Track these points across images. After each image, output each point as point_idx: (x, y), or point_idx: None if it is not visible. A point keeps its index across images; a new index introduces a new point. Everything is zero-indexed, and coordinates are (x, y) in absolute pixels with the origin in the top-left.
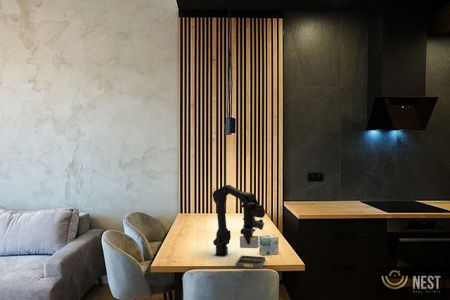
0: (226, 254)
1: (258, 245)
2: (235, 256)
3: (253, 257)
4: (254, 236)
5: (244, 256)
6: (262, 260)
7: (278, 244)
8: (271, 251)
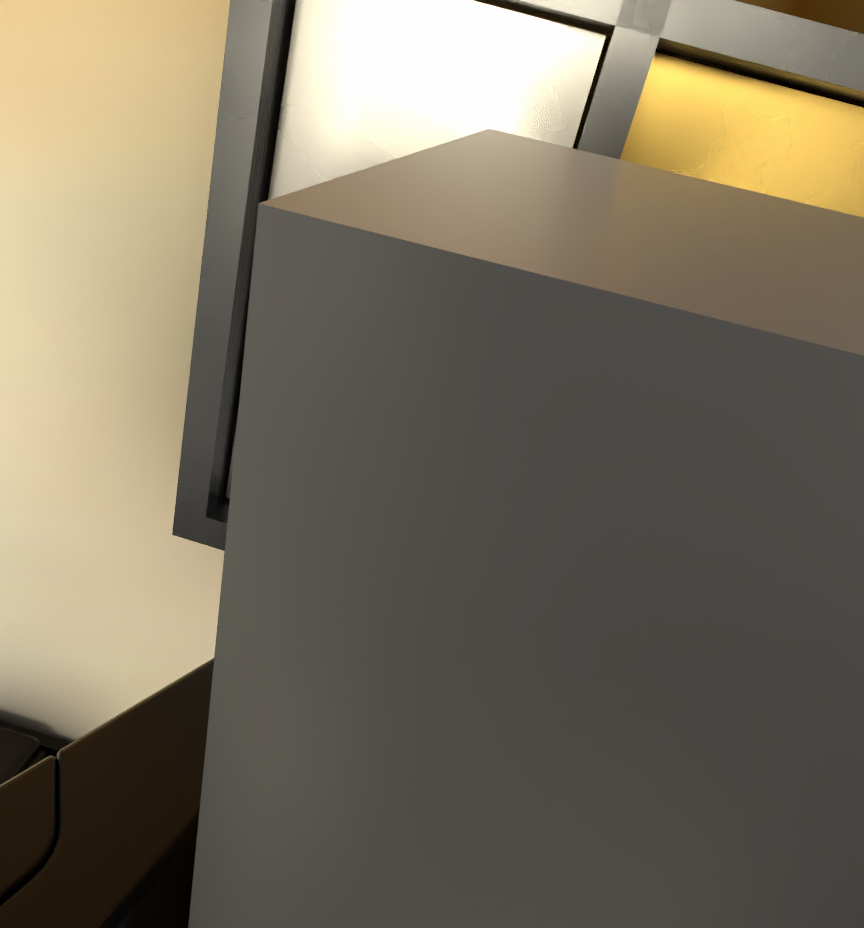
0: (15, 729)
1: (576, 154)
2: (72, 593)
3: (246, 259)
4: (597, 782)
5: (214, 475)
6: (617, 2)
7: None
8: None
